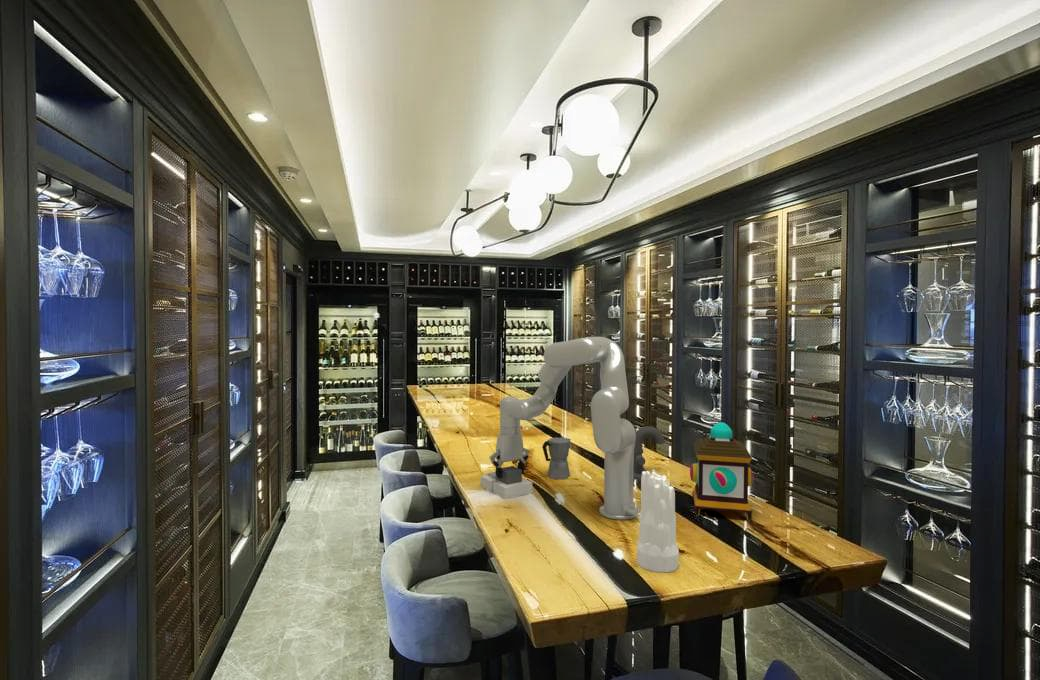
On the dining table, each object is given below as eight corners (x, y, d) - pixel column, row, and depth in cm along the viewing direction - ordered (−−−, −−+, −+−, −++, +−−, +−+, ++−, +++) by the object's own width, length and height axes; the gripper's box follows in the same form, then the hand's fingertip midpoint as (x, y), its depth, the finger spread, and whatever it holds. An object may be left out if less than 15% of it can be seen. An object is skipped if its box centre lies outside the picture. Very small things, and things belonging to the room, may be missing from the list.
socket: (532, 492, 197) (532, 482, 196) (505, 499, 190) (505, 488, 190) (506, 480, 212) (506, 470, 211) (480, 486, 205) (480, 475, 205)
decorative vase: (671, 553, 145) (671, 464, 144) (684, 572, 135) (685, 475, 134) (632, 554, 145) (632, 464, 144) (642, 573, 134) (643, 476, 133)
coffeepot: (562, 470, 225) (562, 429, 225) (578, 475, 218) (578, 432, 217) (535, 477, 216) (535, 434, 215) (550, 483, 208) (550, 438, 208)
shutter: (511, 476, 204) (511, 468, 204) (496, 479, 200) (496, 470, 200) (501, 472, 210) (501, 464, 209) (487, 474, 206) (487, 466, 206)
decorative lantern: (747, 502, 186) (749, 418, 185) (757, 523, 167) (758, 429, 165) (688, 497, 191) (689, 415, 190) (690, 517, 172) (691, 426, 171)
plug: (521, 489, 197) (521, 469, 197) (507, 492, 194) (507, 472, 193) (512, 485, 203) (512, 465, 202) (498, 488, 199) (498, 468, 199)
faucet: (670, 480, 212) (670, 430, 212) (630, 479, 213) (631, 430, 212) (659, 467, 230) (659, 422, 230) (623, 467, 231) (623, 422, 230)
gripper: (523, 426, 205) (523, 469, 206) (485, 431, 196) (485, 476, 196) (534, 429, 199) (534, 474, 200) (495, 435, 189) (495, 482, 190)
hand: (510, 475), depth 198 cm, fingers open, 9 cm apart
